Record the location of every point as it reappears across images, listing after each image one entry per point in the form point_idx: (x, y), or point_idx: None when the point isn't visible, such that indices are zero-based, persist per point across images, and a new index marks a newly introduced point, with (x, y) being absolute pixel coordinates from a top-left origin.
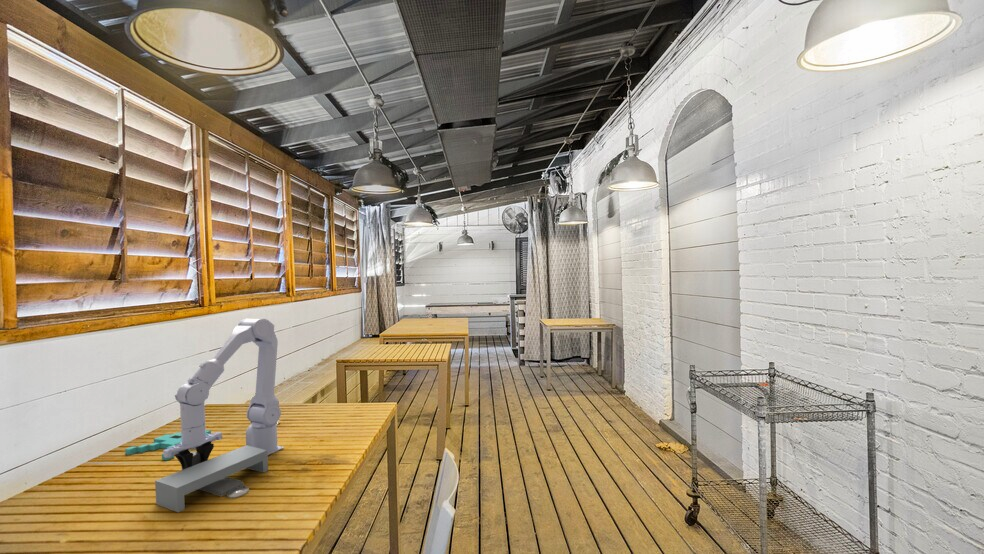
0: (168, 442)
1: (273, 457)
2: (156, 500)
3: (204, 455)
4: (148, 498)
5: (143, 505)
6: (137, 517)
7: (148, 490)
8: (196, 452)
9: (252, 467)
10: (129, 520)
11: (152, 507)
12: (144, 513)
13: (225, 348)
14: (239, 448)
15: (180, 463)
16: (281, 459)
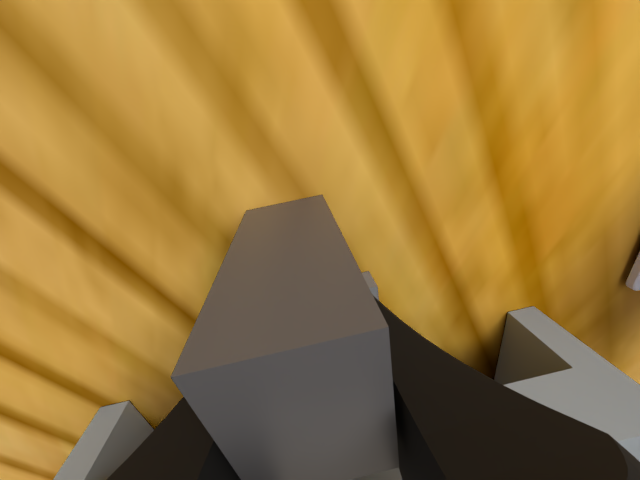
0: None
1: (629, 316)
2: (90, 430)
3: (401, 474)
4: (48, 328)
5: (38, 384)
6: (37, 457)
7: (18, 202)
8: (388, 425)
9: (504, 380)
10: (7, 461)
11: (88, 422)
12: (61, 445)
13: None
14: (622, 445)
15: (181, 400)
16: (607, 358)
